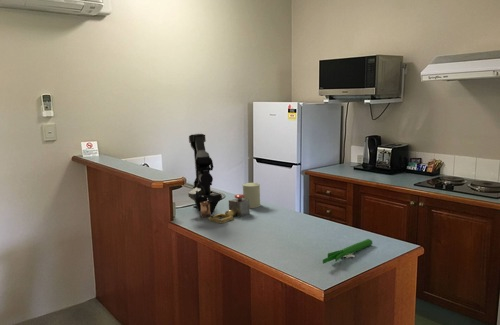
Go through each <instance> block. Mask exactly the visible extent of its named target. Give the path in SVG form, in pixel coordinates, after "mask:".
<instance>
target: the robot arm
mask: <svg viewBox="0 0 500 325" xmlns="http://www.w3.org/2000/svg"><path fill="white" fill-rule="evenodd" d="M206 141H207V140H206V134H203V133H201V132H200V133H191V134H190V135H189V136H188V142H189V144H190V148H191V149H192V150H193V152H194V153H193V157H194V165H195V166H194V168H195V179H194V181H193V185H192V190H190V191H188V197H189V198H190V199H191V200H192V201H194V203H195V205H193V206H192V207H193V208H196V209H197V210H198V212H201V204H200V202H201V201H207V202H208V203H209V204H210V215H213V214H214V212H215V210H216V207H217V206H218V203H219V202H220V201H222V200H223V194H221V193H216V192H215V193H213V190H211V186H212V185H213V179H214V178H213V175H212V174H211V173H210V171H213V169H214V162H213V159H212V157H210V154H209V152H208V151H206V146H205V142H206Z"/></svg>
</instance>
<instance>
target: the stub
mask: <svg viewBox="0 0 500 325" xmlns="http://www.w3.org/2000/svg"><path fill="white" fill-rule="evenodd" d="M200 204H201V211H200V216H201V217H202V218H209V217H211V213H210V204H209V203H208V202H207V201H201V202H200Z"/></svg>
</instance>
